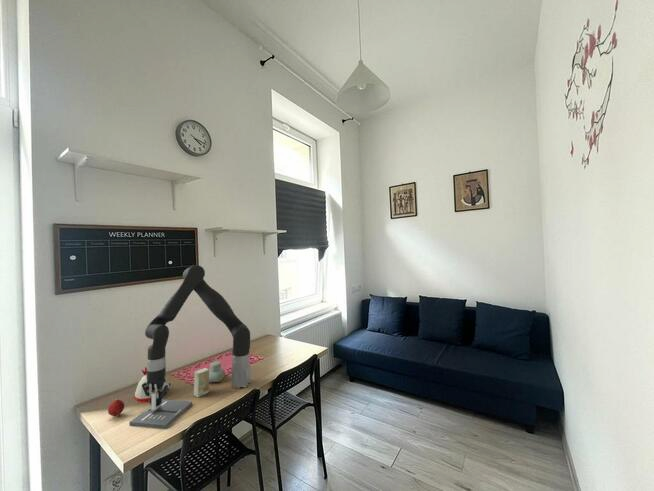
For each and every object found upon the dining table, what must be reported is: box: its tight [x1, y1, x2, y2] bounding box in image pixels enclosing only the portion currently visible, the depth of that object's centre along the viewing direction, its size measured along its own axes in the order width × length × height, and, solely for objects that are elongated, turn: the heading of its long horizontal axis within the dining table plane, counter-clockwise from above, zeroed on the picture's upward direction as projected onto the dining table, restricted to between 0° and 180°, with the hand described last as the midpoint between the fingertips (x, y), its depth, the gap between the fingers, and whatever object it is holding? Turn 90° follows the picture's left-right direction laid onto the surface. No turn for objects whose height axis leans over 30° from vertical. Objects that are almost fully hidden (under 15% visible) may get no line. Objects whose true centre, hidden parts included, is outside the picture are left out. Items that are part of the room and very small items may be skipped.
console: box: [128, 398, 193, 430], centre depth 122 cm, size 17×18×2 cm
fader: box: [150, 391, 162, 413], centre depth 122 cm, size 2×5×8 cm, turn 173°
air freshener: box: [209, 361, 226, 383], centre depth 155 cm, size 11×8×10 cm
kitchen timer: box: [134, 366, 164, 403], centre depth 139 cm, size 14×14×15 cm
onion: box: [107, 398, 125, 418], centre depth 121 cm, size 6×6×8 cm
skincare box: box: [193, 367, 210, 398], centre depth 140 cm, size 6×4×12 cm
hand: (155, 404), depth 122 cm, fingers closed on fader, 2 cm apart
